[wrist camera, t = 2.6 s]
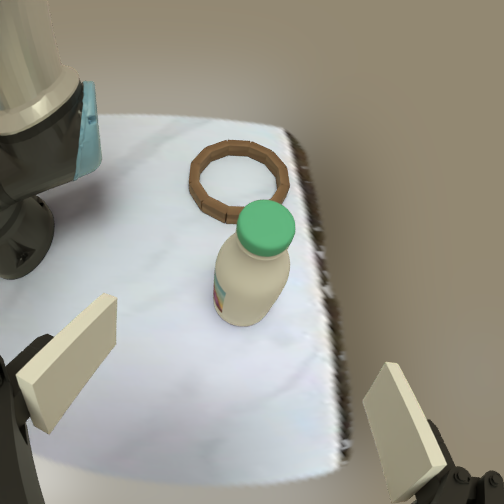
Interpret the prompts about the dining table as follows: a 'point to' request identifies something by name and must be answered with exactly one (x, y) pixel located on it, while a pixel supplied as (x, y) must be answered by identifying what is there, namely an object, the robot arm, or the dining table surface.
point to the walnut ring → (234, 149)
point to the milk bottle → (253, 263)
